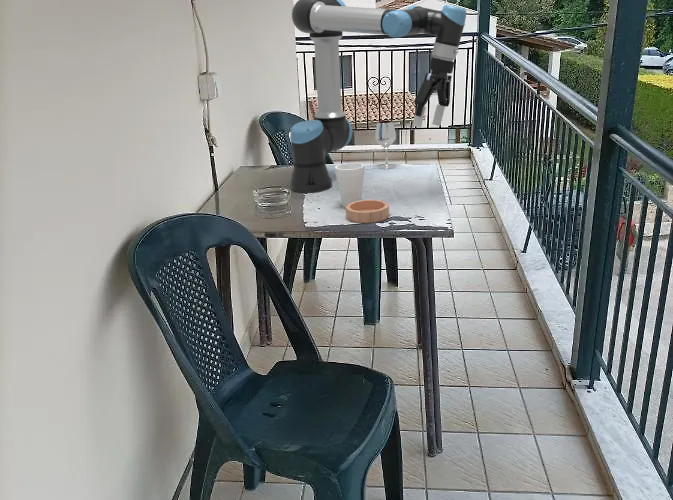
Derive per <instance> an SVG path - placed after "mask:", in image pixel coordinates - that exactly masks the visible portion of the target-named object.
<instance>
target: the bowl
mask: <svg viewBox="0 0 673 500" xmlns="http://www.w3.org/2000/svg"><path fill="white" fill-rule="evenodd" d="M345 215H346V219H347V220H348V221H350V222H351V223H357V224H373V223H379V222H383V221H385V220H387V219H388V218H389V217H390V204H389V203H388V202H387V201H386V200H385V201H384V200H380V199H362V200H360V201H355V202H352V203H350V204H347V206H346V207H345Z"/></svg>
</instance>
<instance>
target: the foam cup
mask: <svg viewBox="0 0 673 500" xmlns="http://www.w3.org/2000/svg"><path fill="white" fill-rule="evenodd" d="M334 174H335V177H336V182H337V183H336V184H337V186H338V192H339V197H340V201H341V205H342V207H343V208H346V206H347V204H350V203H352V202H355V201H360V200H363V190H364V189H363V188H364V176H365V164H363V163H360V162H346V163H345V162H344V163H339V164H337V165H335V166H334Z"/></svg>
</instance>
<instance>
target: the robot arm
mask: <svg viewBox="0 0 673 500" xmlns="http://www.w3.org/2000/svg"><path fill="white" fill-rule="evenodd" d="M442 7H443V8H442V9H441V10H437V9H431V8H428V7H422V6H420V5H419V6H417V5H409V6H408V7H407V8H405V9H395V8H394V9H393V8H376V7H359V6H346V4H345V3H344V1H343V0H298V1H296V2H295V3H294V5H293V8H292V10H291V20H292V23H293V25H294V27H295V28H296V29H297V30H298V31H299V32H302V33H305V34H309V39H310V40H311V41H312V42H313V43H314V59H315V61H314V62H315V78H316V79H315V80H316V96H317V111H316V112H315V114H314V118H313V119H308V120H305V121H300V122H297V123H295V124H294V125H293V124H292V125H293V126H291V128H290V143H291V153H292V154H291V155H292V163H293V168H292V169H293V170H292V174H291V180H290V190H291V191H293V192H297V193H317V192H322V191H326V190H328V189H331V188H332V187H333V182H332V177H331V176H330V173H329V170H328V168H327V164H326V155H327V154H329V153H331V152H335V151H339V150H341V149H343V148H345V147H346V146H348V145H349V143H350V142H351V140H352V137H353V127H352V124H351V122H350V121H349V120H348V118H347V117H346V115H347V114H346V112H345V111H344V110H343V109H342V97H341V95H342V94H341V70H340V45H339V44H340V43H339V42H340V40H341V39H342V38H343V35H344V34H343V33H344V32H345V33H357V34H360V33H361V34H369V35H370V34H371V35H381V36H383V35H384V36H388V37H390V38H402V37H406V36H413V35H420V34H424V35H427V36H428V35H429V36H433V37H435V40H434V43H433V44H434V45H433V48H432V51H431V52H432V53H431V55H432V57H431V58H430V61H429V64H428V65H429V66H428V69H429V70H431V73H429V72H426V73H425V77H424V80H423V81H422V84H421V85H420V88H419V89H418V90H419V91H418V92H417V94H416V96H415V98H414V100H413V102H414V105H416V110H415V113H414V114H415V115H414V118H413V122H412V126H414V127H416V128H422V125H423V121H424V117H425V112H426V109H427V107H426V104H427V103H428V101H429V100H430V98H431V96H432V95H433V94H434V92H435V91H436V92H437V94H436V95H437V101H438V104H436V107H435V111H434V115H433V120H432V122H431V123H432V125H435V126H437V127H441V125H442V120H443V116H444V112H445V110H446V109H445V108H446V107H449V106H450V102H451V81H452V77H453V76H452V75H450V74H453V71H454V67H455V61H454V60H456V59H457V55H458V53H459V48H460V47H459V46H460V42H461V39H462V35H463V33H464V32H463V31H464V29H465V25H466V18H467V10H466V9H465V8H463V7H459V6H455V5H450V4H449V5H448V4H444V5H443V6H442Z"/></svg>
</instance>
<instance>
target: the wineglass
mask: <svg viewBox="0 0 673 500" xmlns="http://www.w3.org/2000/svg"><path fill="white" fill-rule="evenodd" d="M375 128H376V129H375V134H374V138H375V141H376V142H377V144H379V145H380V146H381V147H382V148H383V149H384V151H385V153H384V155H385V164H388V165H385V164H383V165H380V166H378V169H380V170H390V169H391V170H392V169H394V168H395V167H396V165H394V164H389V163H388V162H389V161H388V149H389V148H390V146H392V145H393V143H394V142H395V141H396V139H397V134H396V133H397V132H396V129H395V125H394V123H393V120H388V119H387V120H380V121H377V124H376V127H375Z"/></svg>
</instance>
